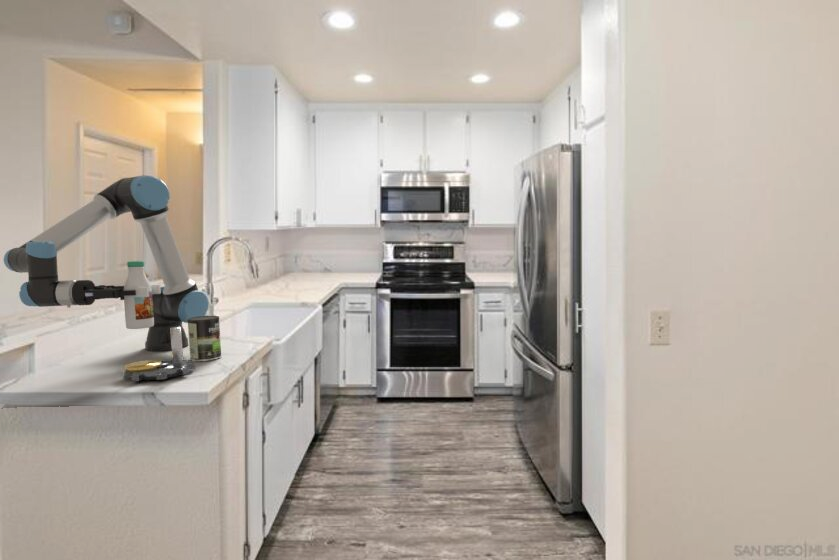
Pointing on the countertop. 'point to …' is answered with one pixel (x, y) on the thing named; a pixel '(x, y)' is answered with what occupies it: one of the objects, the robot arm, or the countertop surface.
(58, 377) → the countertop surface
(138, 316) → the milk bottle
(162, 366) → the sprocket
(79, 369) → the countertop surface
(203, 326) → the coffee can
